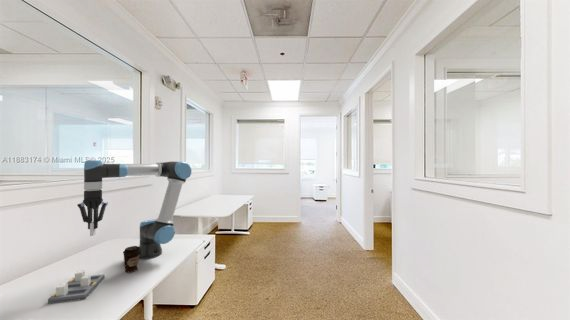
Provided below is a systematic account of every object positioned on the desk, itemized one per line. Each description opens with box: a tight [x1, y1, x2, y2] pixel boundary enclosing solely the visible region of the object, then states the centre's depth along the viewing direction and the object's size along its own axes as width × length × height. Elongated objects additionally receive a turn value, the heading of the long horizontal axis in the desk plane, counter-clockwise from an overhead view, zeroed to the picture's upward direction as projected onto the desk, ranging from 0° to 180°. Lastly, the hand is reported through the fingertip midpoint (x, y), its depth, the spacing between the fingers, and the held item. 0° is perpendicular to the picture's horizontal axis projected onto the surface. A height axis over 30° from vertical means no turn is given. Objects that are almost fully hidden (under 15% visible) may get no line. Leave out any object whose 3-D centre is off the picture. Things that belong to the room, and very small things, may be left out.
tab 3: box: [81, 274, 92, 287], centre depth 122 cm, size 3×3×4 cm
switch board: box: [47, 273, 106, 304], centre depth 121 cm, size 14×21×2 cm, turn 16°
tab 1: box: [55, 283, 68, 296], centre depth 113 cm, size 3×3×4 cm
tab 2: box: [74, 270, 86, 282], centre depth 127 cm, size 3×3×4 cm
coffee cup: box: [122, 245, 140, 274], centre depth 142 cm, size 9×8×13 cm
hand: (92, 235), depth 129 cm, fingers closed
